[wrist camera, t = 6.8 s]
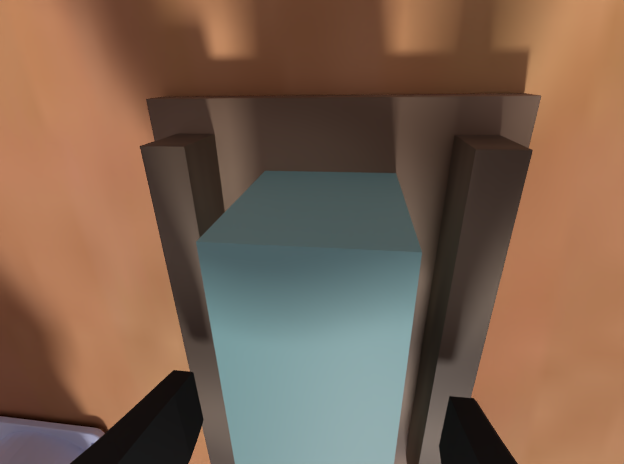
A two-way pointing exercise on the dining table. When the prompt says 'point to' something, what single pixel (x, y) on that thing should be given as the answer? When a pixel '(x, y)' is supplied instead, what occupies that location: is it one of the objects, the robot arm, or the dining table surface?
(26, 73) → the dining table surface
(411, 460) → the cradle
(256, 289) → the tall teal pillar block
